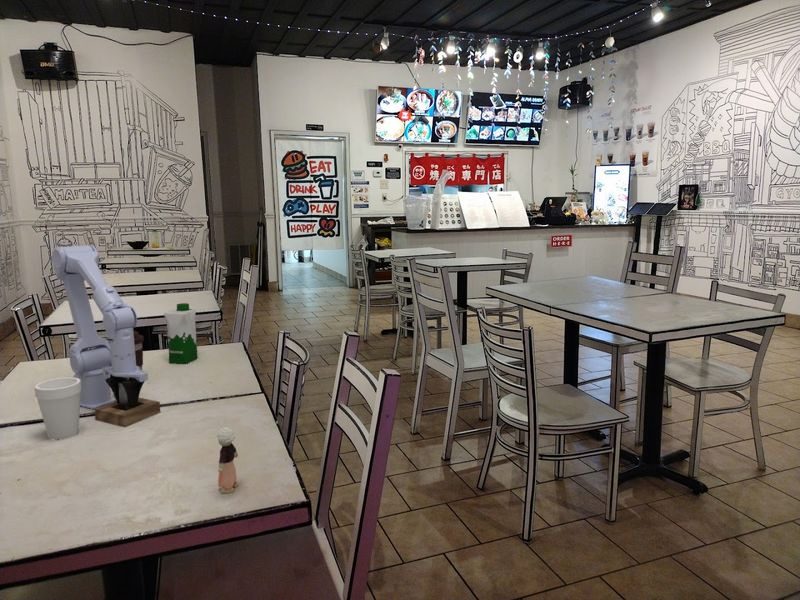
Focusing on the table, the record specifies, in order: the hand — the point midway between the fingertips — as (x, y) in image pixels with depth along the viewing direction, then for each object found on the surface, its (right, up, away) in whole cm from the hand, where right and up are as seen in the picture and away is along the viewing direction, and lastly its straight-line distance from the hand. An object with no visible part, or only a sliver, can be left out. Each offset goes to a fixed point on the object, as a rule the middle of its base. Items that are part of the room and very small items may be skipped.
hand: (127, 403), depth 149 cm
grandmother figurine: (+38, -10, -37) cm, 54 cm away
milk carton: (-5, +6, +51) cm, 51 cm away
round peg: (0, -2, 0) cm, 2 cm away
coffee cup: (-14, +2, +32) cm, 35 cm away
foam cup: (-10, -6, -11) cm, 16 cm away
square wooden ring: (0, -3, +1) cm, 3 cm away
